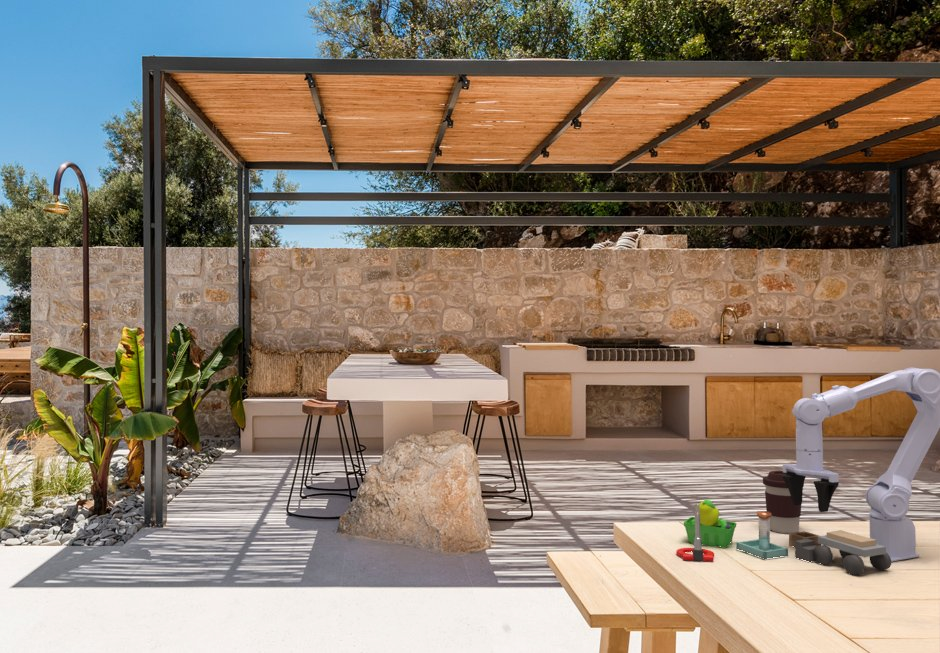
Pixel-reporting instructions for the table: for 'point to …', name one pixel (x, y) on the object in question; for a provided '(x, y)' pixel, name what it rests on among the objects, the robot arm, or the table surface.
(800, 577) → the table surface
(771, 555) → the tray
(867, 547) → the trolley
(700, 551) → the tow hook
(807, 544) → the block
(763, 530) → the pin
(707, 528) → the fruit basket
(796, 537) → the pin socket
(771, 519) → the coffee cup
